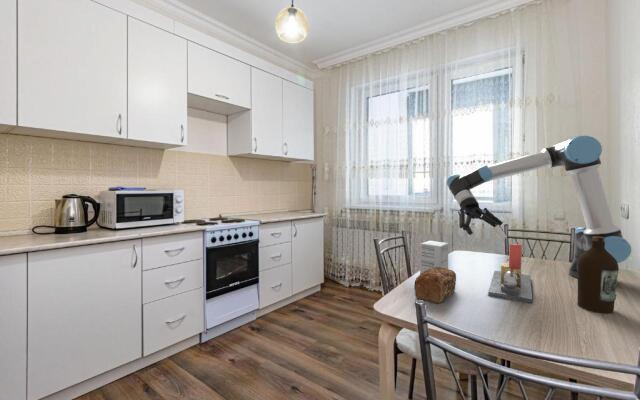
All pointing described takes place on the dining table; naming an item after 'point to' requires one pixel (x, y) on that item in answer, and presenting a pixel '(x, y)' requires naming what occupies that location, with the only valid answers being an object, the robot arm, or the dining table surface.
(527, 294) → the valve pipe
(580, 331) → the dining table surface
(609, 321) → the dining table surface
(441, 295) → the bread
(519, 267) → the lever
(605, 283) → the olive oil
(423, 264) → the supplement box
